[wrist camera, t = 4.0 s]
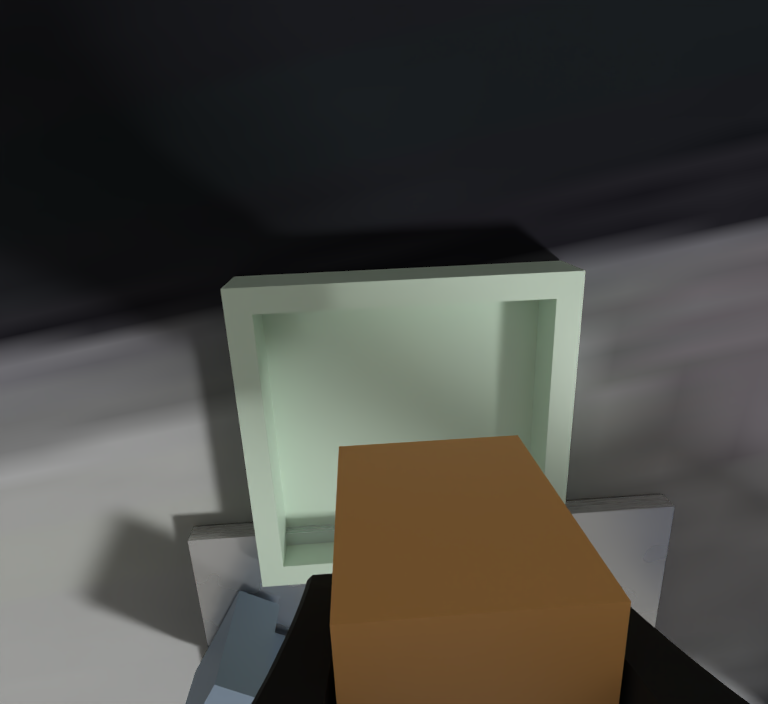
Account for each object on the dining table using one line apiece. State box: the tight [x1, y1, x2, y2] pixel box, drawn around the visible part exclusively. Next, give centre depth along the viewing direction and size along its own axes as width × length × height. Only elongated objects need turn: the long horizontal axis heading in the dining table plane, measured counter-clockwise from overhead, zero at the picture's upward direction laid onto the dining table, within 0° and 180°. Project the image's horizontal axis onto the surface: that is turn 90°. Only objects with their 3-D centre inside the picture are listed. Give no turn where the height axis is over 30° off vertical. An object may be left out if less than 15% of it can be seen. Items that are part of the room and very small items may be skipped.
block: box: [330, 435, 631, 704], centre depth 10 cm, size 4×4×5 cm
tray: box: [220, 261, 585, 587], centre depth 18 cm, size 11×11×2 cm
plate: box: [188, 494, 675, 648], centre depth 23 cm, size 18×18×1 cm
